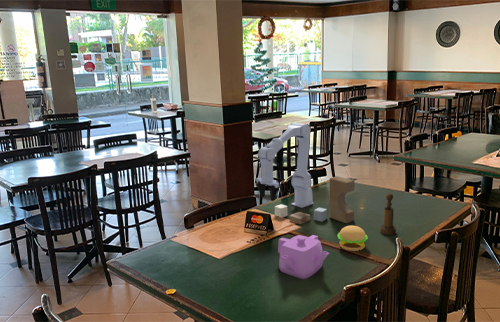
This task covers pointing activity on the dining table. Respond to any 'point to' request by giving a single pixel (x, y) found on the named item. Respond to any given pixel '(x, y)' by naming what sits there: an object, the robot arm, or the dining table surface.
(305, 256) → the teakettle
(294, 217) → the walnut slab
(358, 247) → the hamburger
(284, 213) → the cream block
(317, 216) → the slate block
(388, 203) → the brown wooden tall piece
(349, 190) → the decorative block
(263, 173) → the robot arm
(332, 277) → the dining table surface
